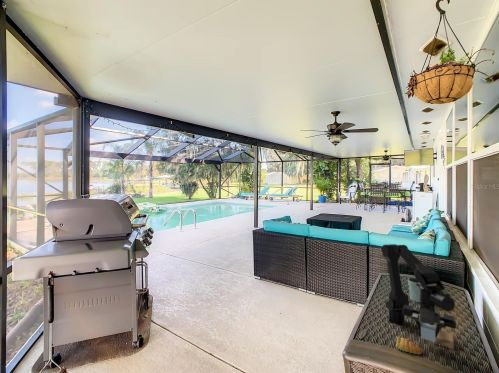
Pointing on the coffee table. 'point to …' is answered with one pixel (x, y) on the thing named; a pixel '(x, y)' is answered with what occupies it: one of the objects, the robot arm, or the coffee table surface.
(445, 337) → the walnut block
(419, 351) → the pastry
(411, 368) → the coffee table surface
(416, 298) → the drinking glass
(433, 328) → the cube
